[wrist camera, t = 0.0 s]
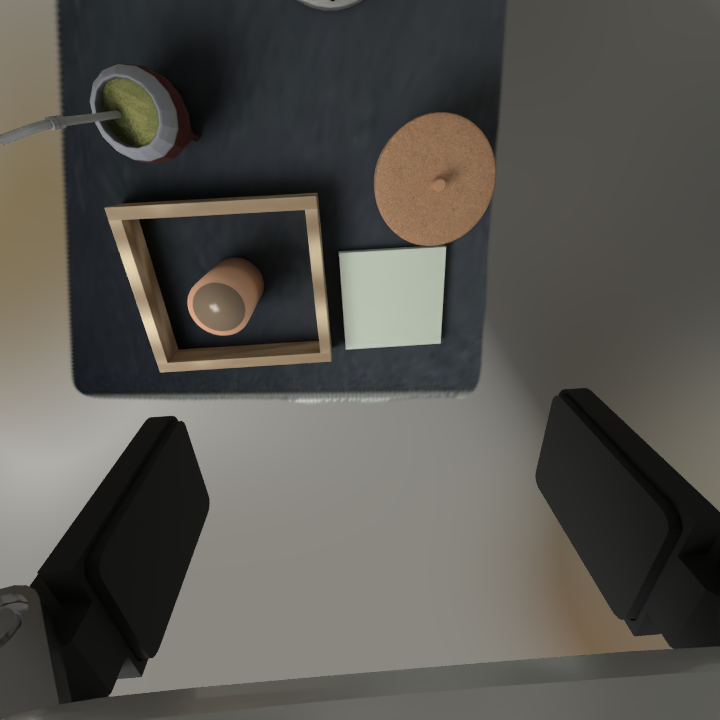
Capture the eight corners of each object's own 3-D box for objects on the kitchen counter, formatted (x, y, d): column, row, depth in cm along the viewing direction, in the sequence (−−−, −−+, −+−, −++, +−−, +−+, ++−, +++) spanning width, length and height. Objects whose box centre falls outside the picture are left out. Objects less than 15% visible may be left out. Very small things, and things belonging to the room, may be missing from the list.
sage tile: (338, 251, 44) (338, 253, 43) (444, 245, 44) (446, 246, 43) (345, 345, 49) (345, 349, 49) (438, 340, 50) (440, 343, 49)
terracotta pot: (205, 258, 43) (179, 279, 36) (259, 255, 44) (244, 276, 36) (217, 309, 46) (195, 337, 39) (267, 305, 46) (255, 333, 39)
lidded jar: (398, 249, 44) (412, 272, 36) (349, 158, 39) (352, 160, 31) (485, 197, 42) (521, 208, 34) (444, 94, 37) (474, 78, 29)
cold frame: (122, 203, 40) (104, 207, 37) (317, 192, 41) (315, 195, 38) (171, 358, 49) (160, 372, 46) (331, 348, 50) (331, 361, 46)
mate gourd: (214, 103, 37) (145, 75, 23) (190, 183, 40) (117, 199, 27) (132, 56, 35) (7, -3, 22) (114, 144, 38) (-6, 141, 25)
